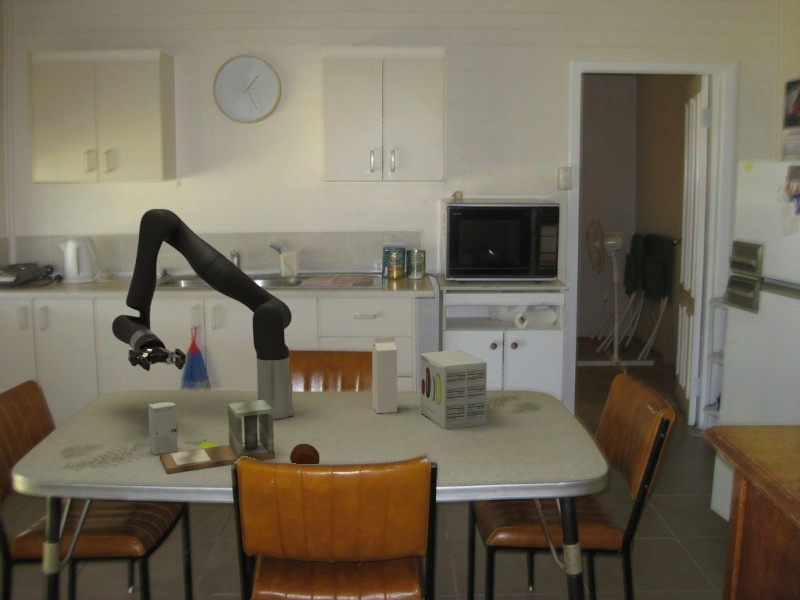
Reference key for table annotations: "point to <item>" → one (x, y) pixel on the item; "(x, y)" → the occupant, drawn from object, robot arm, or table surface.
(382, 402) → the milk
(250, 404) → the board
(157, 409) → the skincare box
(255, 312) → the robot arm
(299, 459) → the potato
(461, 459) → the table surface
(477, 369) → the supplement box
